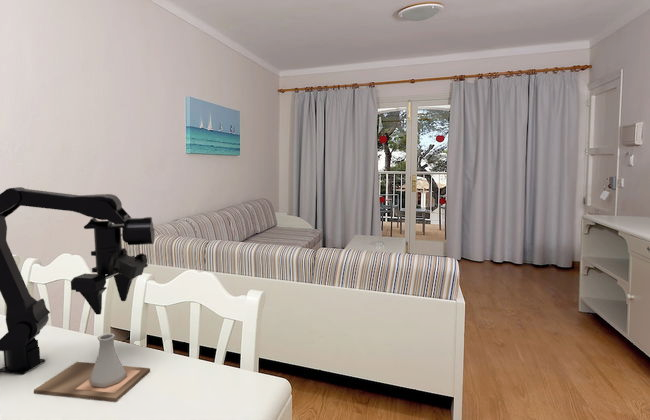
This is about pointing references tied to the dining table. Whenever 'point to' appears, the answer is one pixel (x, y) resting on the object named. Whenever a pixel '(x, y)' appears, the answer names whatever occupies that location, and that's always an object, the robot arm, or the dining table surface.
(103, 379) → the flask
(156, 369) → the dining table surface
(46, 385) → the walnut board
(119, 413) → the dining table surface
